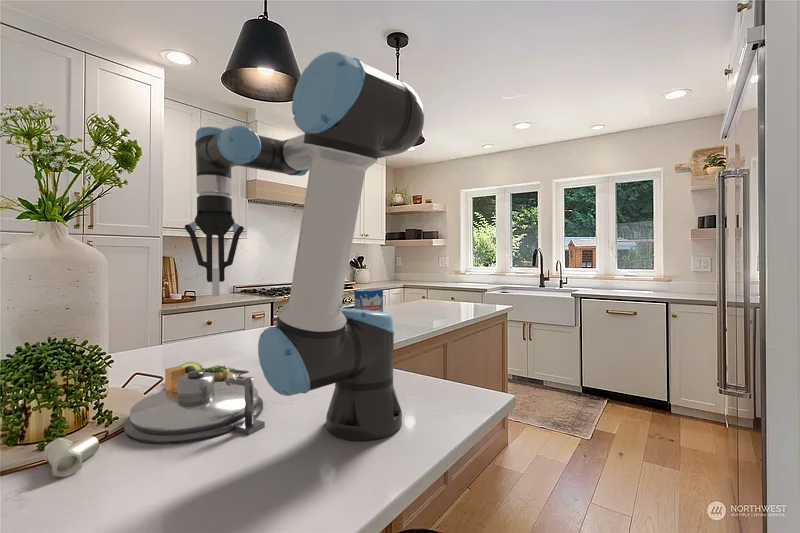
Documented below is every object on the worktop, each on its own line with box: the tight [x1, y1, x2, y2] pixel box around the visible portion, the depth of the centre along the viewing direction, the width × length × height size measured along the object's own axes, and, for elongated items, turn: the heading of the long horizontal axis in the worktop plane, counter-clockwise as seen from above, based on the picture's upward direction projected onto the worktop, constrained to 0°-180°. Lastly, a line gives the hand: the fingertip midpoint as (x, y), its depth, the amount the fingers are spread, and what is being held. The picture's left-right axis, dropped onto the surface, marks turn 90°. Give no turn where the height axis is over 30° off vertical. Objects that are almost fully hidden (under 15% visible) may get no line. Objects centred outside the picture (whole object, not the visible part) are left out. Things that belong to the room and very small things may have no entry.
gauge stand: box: [225, 373, 266, 436], centre depth 79 cm, size 8×4×10 cm, turn 64°
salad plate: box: [179, 361, 250, 382], centre depth 108 cm, size 19×18×5 cm
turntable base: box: [123, 395, 264, 445], centre depth 85 cm, size 26×26×1 cm
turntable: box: [129, 365, 259, 435], centre depth 84 cm, size 24×24×7 cm
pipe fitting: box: [43, 435, 100, 478], centre depth 65 cm, size 8×4×7 cm
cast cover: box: [177, 370, 214, 407], centre depth 84 cm, size 7×7×6 cm
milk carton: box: [353, 288, 384, 312], centre depth 160 cm, size 10×6×20 cm, turn 119°
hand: (215, 295), depth 95 cm, fingers closed
